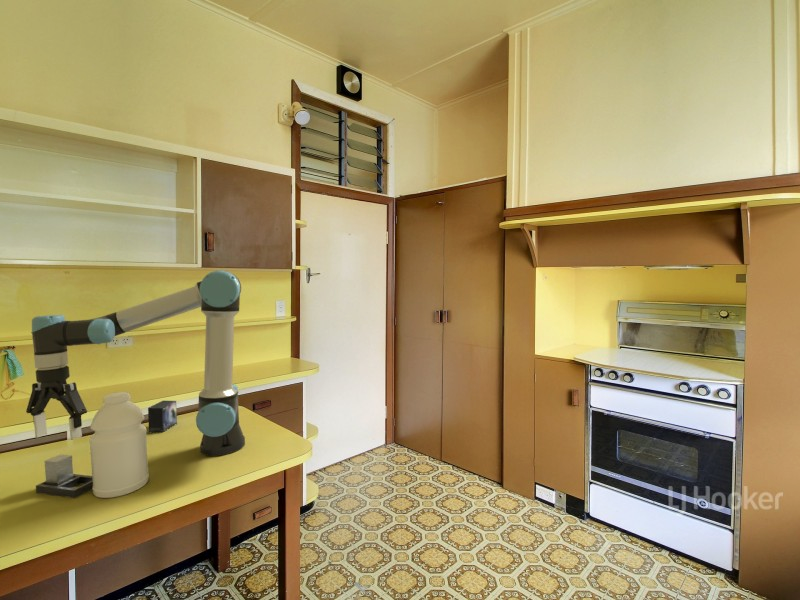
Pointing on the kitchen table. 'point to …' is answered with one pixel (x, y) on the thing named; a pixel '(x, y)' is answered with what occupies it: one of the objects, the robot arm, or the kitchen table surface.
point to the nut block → (58, 470)
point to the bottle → (118, 447)
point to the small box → (162, 416)
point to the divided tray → (67, 487)
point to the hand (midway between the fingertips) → (58, 437)
